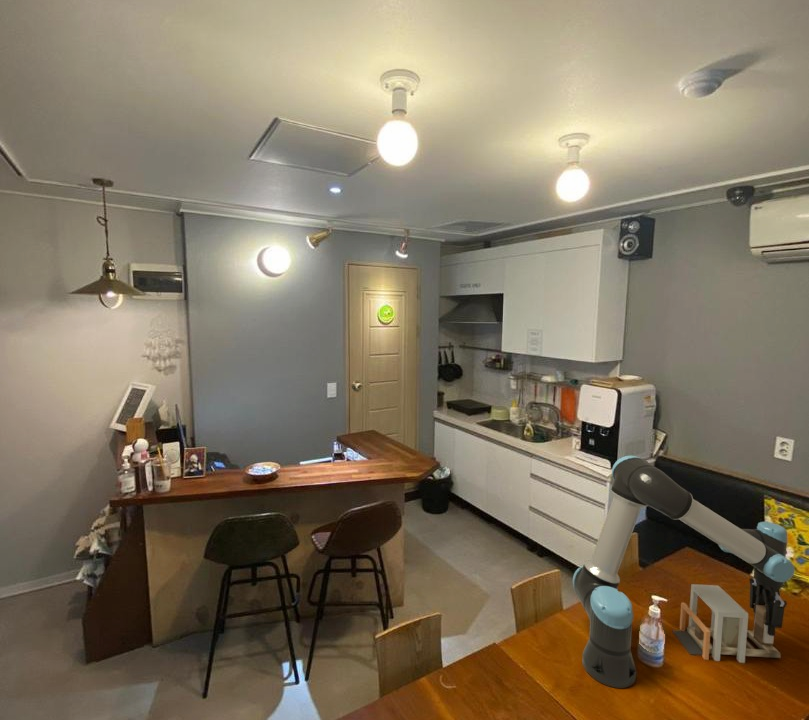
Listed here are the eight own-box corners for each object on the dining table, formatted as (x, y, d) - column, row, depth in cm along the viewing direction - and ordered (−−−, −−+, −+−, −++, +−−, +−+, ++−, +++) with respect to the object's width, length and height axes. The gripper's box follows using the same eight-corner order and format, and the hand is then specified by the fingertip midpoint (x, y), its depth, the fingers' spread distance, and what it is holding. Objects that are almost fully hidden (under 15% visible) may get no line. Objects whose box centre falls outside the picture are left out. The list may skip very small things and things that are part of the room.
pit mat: (690, 654, 142) (690, 653, 142) (672, 631, 153) (672, 630, 153) (709, 656, 141) (709, 655, 141) (690, 632, 152) (690, 631, 152)
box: (738, 651, 143) (741, 619, 143) (724, 650, 144) (727, 618, 143) (728, 639, 149) (730, 609, 148) (714, 639, 149) (717, 608, 148)
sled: (704, 653, 142) (707, 614, 141) (686, 630, 152) (689, 595, 151) (780, 658, 140) (783, 619, 139) (756, 635, 150) (759, 599, 149)
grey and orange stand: (704, 660, 140) (708, 611, 138) (679, 627, 154) (682, 583, 153) (744, 662, 139) (748, 613, 137) (715, 630, 153) (718, 585, 152)
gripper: (801, 586, 134) (795, 657, 136) (762, 557, 151) (757, 621, 153) (776, 584, 135) (769, 655, 137) (739, 556, 152) (734, 620, 153)
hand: (763, 637), depth 145 cm, fingers closed on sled, 3 cm apart
